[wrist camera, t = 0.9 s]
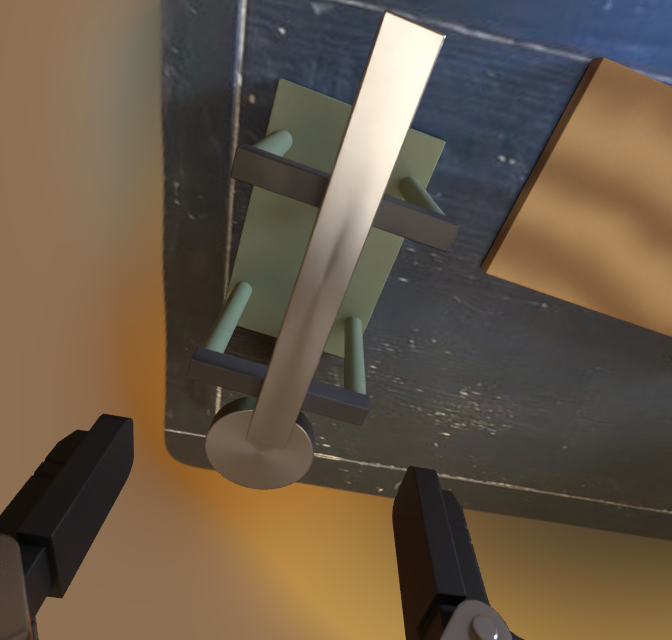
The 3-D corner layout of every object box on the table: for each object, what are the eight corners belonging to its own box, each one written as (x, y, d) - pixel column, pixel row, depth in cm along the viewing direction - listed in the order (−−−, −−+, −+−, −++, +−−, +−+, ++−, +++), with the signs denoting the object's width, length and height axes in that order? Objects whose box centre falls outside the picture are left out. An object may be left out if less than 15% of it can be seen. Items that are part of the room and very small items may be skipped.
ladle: (324, 0, 15) (319, -20, 12) (479, 65, 16) (506, 59, 13) (201, 459, 26) (184, 503, 23) (298, 483, 27) (292, 529, 24)
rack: (282, 78, 25) (240, 71, 15) (442, 140, 26) (500, 170, 16) (224, 313, 32) (170, 411, 22) (351, 351, 33) (353, 460, 23)
